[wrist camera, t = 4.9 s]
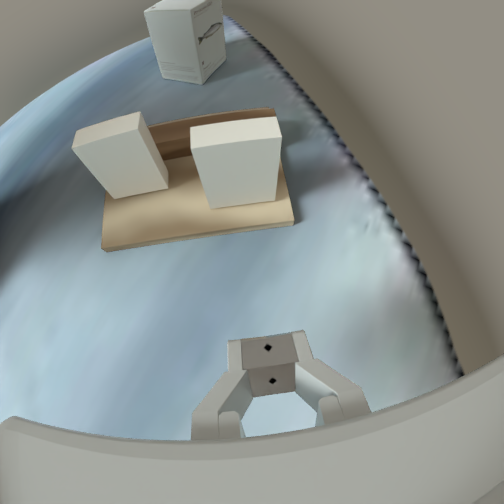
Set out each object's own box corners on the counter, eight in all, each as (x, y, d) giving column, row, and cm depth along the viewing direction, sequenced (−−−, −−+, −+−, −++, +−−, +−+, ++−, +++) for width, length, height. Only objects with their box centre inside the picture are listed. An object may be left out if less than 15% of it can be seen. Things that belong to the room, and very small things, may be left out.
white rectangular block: (275, 200, 26) (281, 137, 18) (210, 209, 26) (190, 148, 18) (271, 182, 27) (276, 116, 18) (208, 190, 27) (190, 127, 18)
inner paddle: (168, 188, 27) (137, 129, 18) (114, 199, 27) (71, 148, 18) (168, 172, 28) (140, 111, 19) (116, 183, 27) (76, 130, 19)
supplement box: (203, 86, 34) (189, 9, 22) (161, 79, 35) (140, 11, 23) (228, 60, 36) (222, -10, 24) (188, 54, 37) (175, -10, 25)
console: (292, 225, 27) (298, 205, 23) (106, 252, 27) (86, 237, 23) (271, 130, 31) (272, 104, 27) (115, 157, 31) (101, 136, 27)
